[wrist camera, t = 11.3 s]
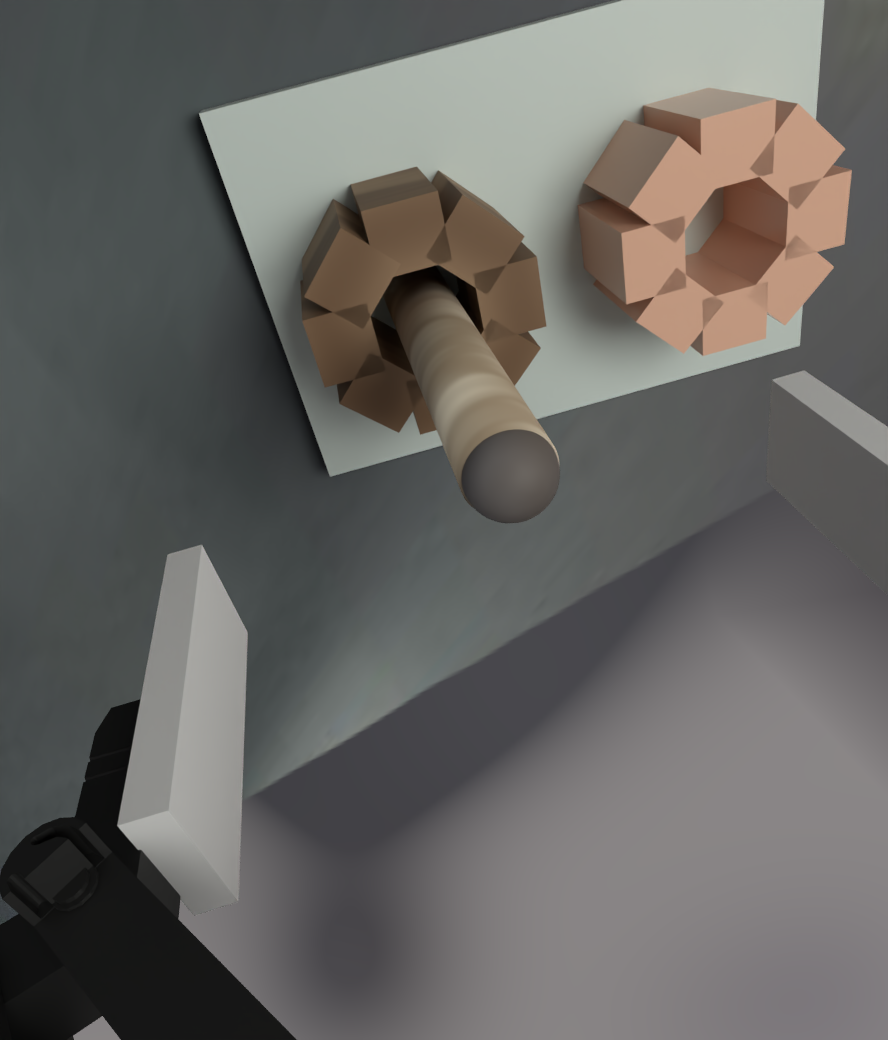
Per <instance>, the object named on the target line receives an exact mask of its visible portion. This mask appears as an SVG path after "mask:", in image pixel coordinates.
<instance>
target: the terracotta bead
mask: <svg viewBox="0 0 888 1040" xmlns="http://www.w3.org/2000/svg"><path fill="white" fill-rule="evenodd" d="M643 110H644V126H643V125H640V124H637V123H633V122H630V121H627V120H624V121H623V123H622V124H621V126H620V127H619V129H618V130H617V132H616V133H615V135H614V136H613V138H612V139H611V141H610V142H609V144H608V146H607V147H606V149H605V150H604V152H603V153H602V155H601V156H600V158H599V159H598V161H597V162H596V164H595V165H594V167H593V168H592V170H591V172H590V173H589V175H588V176H587V178H586V179H585V181H584V182H583V183H584V184H586V185H587V186H588V187H590V188H591V189H592V190H594V191H595V192H596V193H598V194H599V195H600V196H602V197H603V198H602V199H598V200H594V201H591V202H587V203H583V204H580V205H578V215H579V224H580V234H581V244H582V254H583V263H584V269H585V270H586V271H587V272H589V273H590V274H591V275H592V276H593V277H595V278H596V279H597V280H596V281H595V282H594V284H593V285H594V286H595V287H597V288H598V289H599V290H600V291H601V292H602V293H603V294H605V295H606V296H607V297H608V298H609V299H610V300H611V301H613V302H614V303H615V304H616V305H617V306H618V307H620V308H621V309H622V310H623V311H624V312H625V313H626V314H628V315H629V316H630V317H631V318H632V319H633V320H634V321H636V322H637V323H638V324H640V325H641V326H643V327H644V328H646V329H647V330H649V331H650V332H652V333H653V334H655V335H656V336H658V337H659V338H661V339H662V340H664V341H665V342H667V343H668V344H670V345H671V346H673V347H674V348H676V349H677V350H679V351H680V352H682V353H683V354H684V353H685V352H686V351H687V349H688V348H689V347H690V346H691V347H692V348H694V349H695V350H696V351H697V352H699V353H700V354H701V355H702V356H705V355H709V354H712V353H716V352H719V351H723V350H726V349H730V348H734V347H737V346H741V345H744V344H748V343H752V342H755V341H759V340H762V339H766V326H767V315H769V316H770V317H772V318H774V319H775V320H777V321H779V322H780V323H782V324H783V325H786V324H787V323H788V322H789V320H790V319H791V318H792V317H793V316H794V314H795V313H796V312H797V311H798V310H799V309H800V307H801V306H802V305H803V304H804V303H805V301H806V300H807V299H808V298H809V297H810V295H811V294H812V293H813V292H814V291H815V289H816V288H817V287H818V286H819V285H820V283H821V282H822V281H823V280H824V279H825V277H826V276H827V275H828V274H829V273H830V271H831V270H832V269H833V268H834V267H833V266H832V265H831V264H830V263H829V262H828V261H826V260H825V259H824V258H823V257H822V256H820V255H819V254H818V253H817V252H818V251H822V250H825V249H829V248H832V247H836V246H840V245H843V244H844V242H845V232H846V222H847V212H848V202H849V192H850V182H851V172H852V170H849V169H845V168H842V167H838V166H834V165H833V164H834V162H835V161H836V160H837V159H838V157H839V156H840V155H841V154H842V152H843V151H844V150H845V148H844V147H843V146H842V145H841V144H840V143H839V142H838V141H837V140H836V139H835V138H833V137H832V136H831V135H830V134H829V133H828V132H827V131H826V130H825V129H824V128H823V127H822V126H821V125H820V124H819V123H818V122H817V121H816V120H815V119H814V118H813V117H812V116H811V115H810V114H809V113H807V112H806V111H805V110H804V109H803V108H802V107H801V106H800V105H799V104H798V103H792V102H786V101H780V100H776V99H775V98H769V97H763V96H757V95H751V94H745V93H739V92H732V91H726V90H720V89H714V88H705V89H701V90H698V91H694V92H690V93H686V94H683V95H679V96H675V97H672V98H668V99H664V100H661V101H657V102H653V103H649V104H646V105H643ZM720 187H723V219H722V221H721V222H720V223H719V225H718V226H717V227H716V229H715V230H714V231H713V233H712V234H711V235H710V237H709V238H708V239H707V241H706V242H705V243H704V245H703V246H702V247H701V249H700V250H699V251H698V252H696V253H693V254H689V255H686V256H685V230H686V228H687V227H688V225H689V224H690V223H691V221H692V220H693V219H694V217H695V216H696V215H697V213H698V212H699V210H700V209H701V208H702V206H703V205H704V204H705V202H706V201H707V199H708V198H709V197H710V195H711V194H712V193H713V191H714V190H715V189H717V188H720Z"/></svg>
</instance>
